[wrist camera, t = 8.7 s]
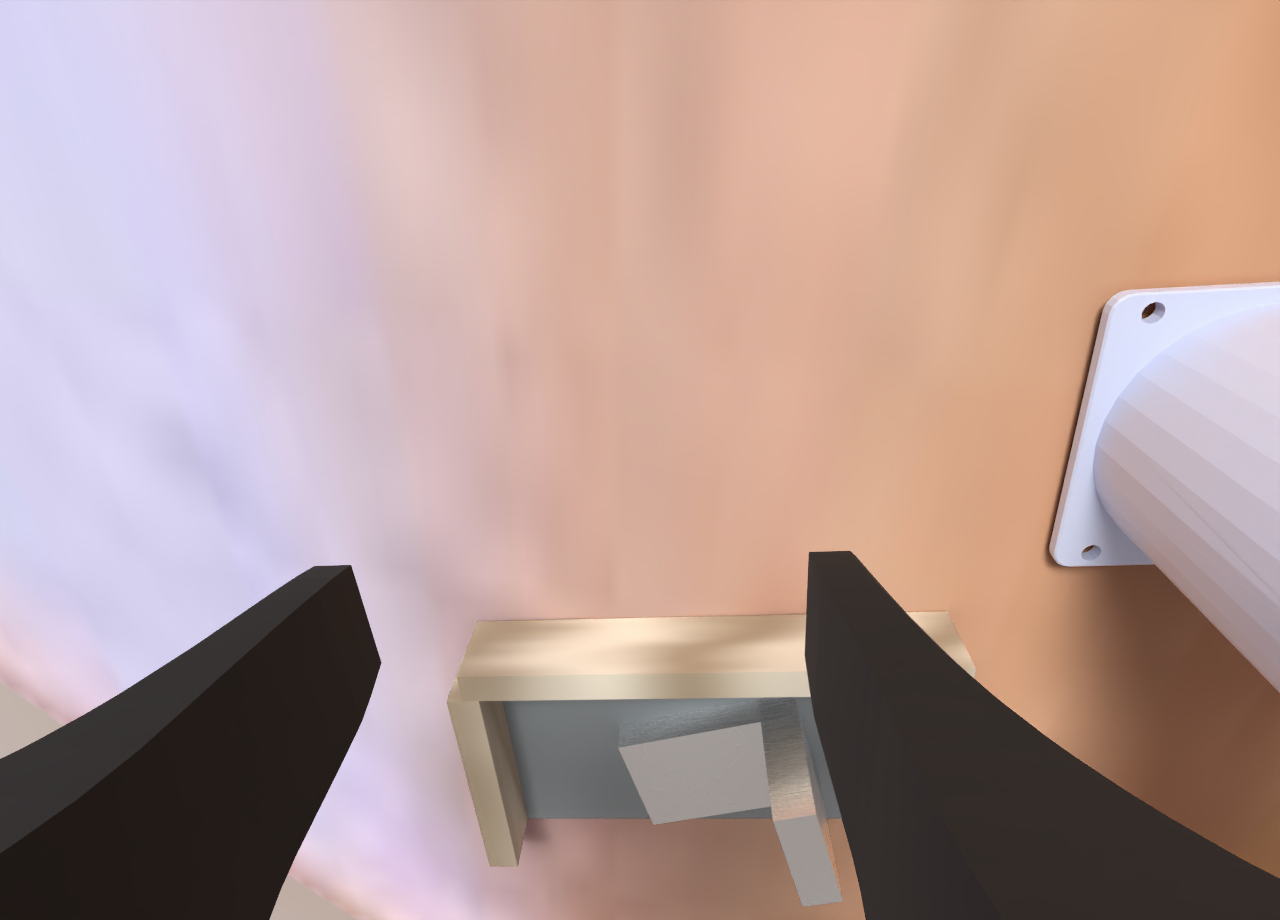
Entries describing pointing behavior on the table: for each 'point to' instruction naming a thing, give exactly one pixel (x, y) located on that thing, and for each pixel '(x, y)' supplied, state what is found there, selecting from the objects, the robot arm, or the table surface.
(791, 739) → the bracket
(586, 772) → the board
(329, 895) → the table surface
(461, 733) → the side wall
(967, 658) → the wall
